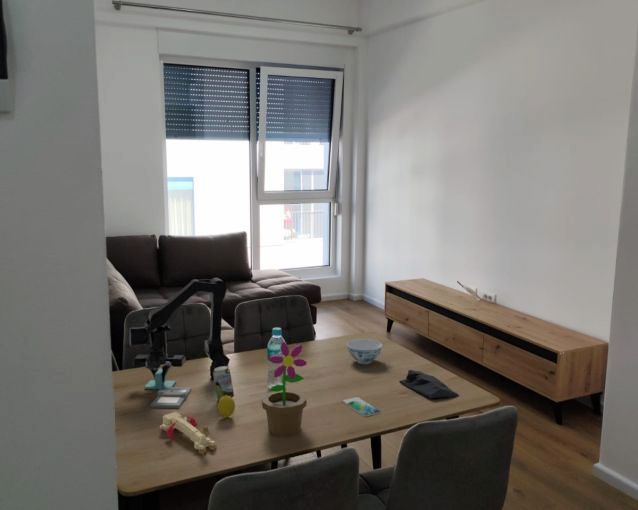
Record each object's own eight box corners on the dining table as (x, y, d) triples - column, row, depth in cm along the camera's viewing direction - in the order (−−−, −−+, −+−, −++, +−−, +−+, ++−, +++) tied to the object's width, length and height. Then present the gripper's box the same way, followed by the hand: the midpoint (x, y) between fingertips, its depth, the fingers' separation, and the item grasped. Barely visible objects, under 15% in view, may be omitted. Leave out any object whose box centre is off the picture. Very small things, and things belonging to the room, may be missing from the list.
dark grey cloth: (425, 403, 204) (426, 390, 204) (396, 381, 225) (397, 370, 224) (462, 397, 210) (462, 385, 209) (430, 377, 230) (431, 365, 229)
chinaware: (383, 367, 239) (383, 349, 238) (347, 367, 239) (347, 349, 238) (380, 355, 254) (380, 339, 253) (346, 355, 254) (346, 338, 253)
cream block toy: (222, 450, 172) (179, 417, 190) (223, 424, 170) (179, 393, 188) (193, 462, 165) (151, 427, 183) (193, 434, 164) (151, 401, 181)
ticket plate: (191, 390, 215) (191, 383, 214) (179, 408, 199) (178, 401, 198) (164, 389, 215) (164, 383, 215) (150, 407, 199) (150, 400, 199)
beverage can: (230, 403, 202) (229, 371, 201) (211, 402, 204) (210, 369, 202) (236, 397, 208) (235, 365, 207) (217, 395, 210) (216, 364, 208)
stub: (176, 382, 222) (175, 368, 221) (170, 389, 215) (170, 374, 214) (150, 382, 222) (149, 367, 221) (144, 388, 216) (143, 374, 215)
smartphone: (357, 396, 208) (381, 411, 196) (357, 398, 209) (381, 414, 196) (340, 399, 205) (364, 415, 192) (340, 402, 205) (364, 418, 192)
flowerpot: (270, 442, 174) (269, 347, 170) (256, 423, 187) (254, 334, 183) (313, 434, 180) (313, 341, 175) (297, 416, 193) (296, 329, 188)
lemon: (227, 423, 187) (227, 399, 186) (214, 419, 190) (214, 396, 189) (238, 416, 192) (238, 394, 191) (225, 413, 195) (225, 390, 194)
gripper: (126, 349, 208) (128, 390, 211) (177, 349, 208) (178, 390, 210) (136, 340, 219) (138, 378, 222) (185, 340, 219) (186, 379, 221)
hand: (160, 382), depth 218 cm, fingers closed on stub, 2 cm apart
